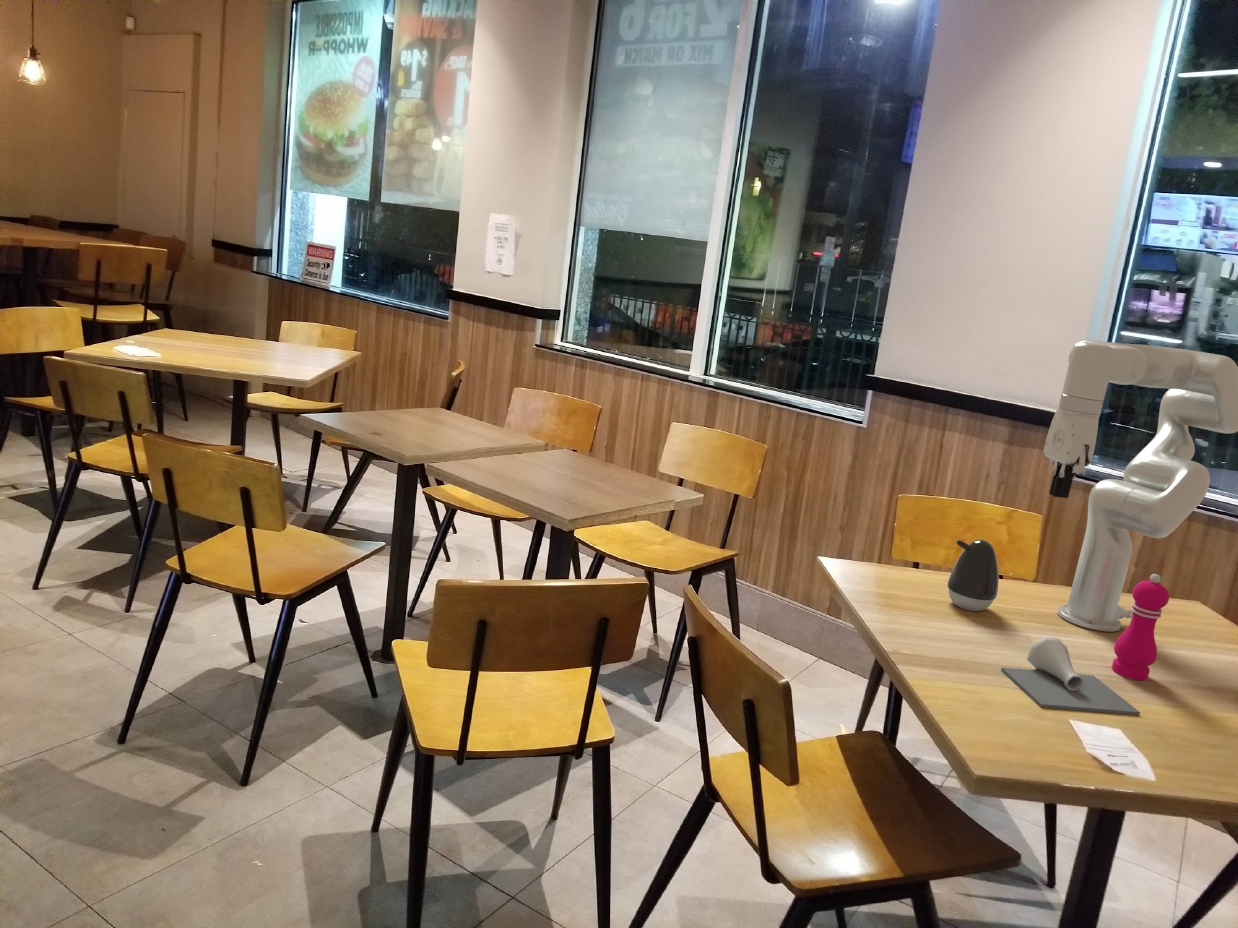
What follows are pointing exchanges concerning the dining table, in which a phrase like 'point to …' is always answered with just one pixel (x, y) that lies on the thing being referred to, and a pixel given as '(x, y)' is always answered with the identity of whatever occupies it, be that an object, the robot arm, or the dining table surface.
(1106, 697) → the rubber mat
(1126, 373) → the robot arm
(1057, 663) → the flask
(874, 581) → the dining table surface
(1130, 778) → the dining table surface
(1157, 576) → the pepper mill
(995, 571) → the pump dispenser
